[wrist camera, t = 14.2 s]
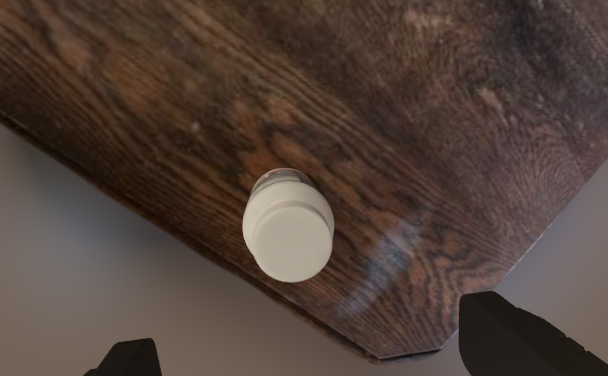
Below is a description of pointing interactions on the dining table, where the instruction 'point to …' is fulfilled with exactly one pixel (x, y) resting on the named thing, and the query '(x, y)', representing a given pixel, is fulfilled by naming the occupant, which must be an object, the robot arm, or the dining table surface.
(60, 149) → the dining table surface
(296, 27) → the dining table surface
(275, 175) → the pill bottle
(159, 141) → the dining table surface
